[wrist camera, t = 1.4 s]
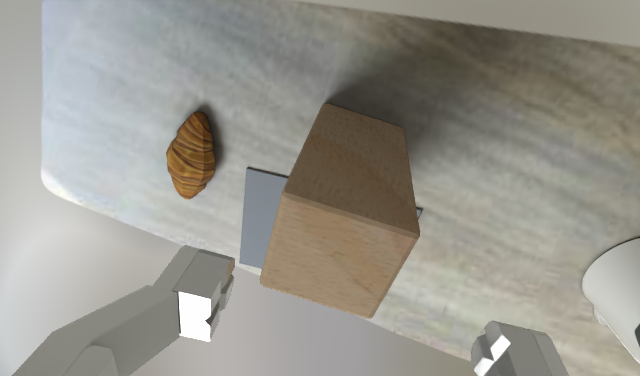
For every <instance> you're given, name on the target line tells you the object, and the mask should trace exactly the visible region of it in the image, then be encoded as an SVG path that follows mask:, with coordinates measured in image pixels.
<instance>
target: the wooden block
mask: <svg viewBox="0 0 640 376" xmlns="http://www.w3.org/2000/svg"><path fill="white" fill-rule="evenodd" d="M419 237H420V229H419V223H418V216H417V210H416V204H415V197H414V191H413V185H412V179H411V172H410V166H409V160H408V153H407V147H406V141H405V135H404V129H403V128H402V127H399V126H396V125H393V124H390V123H387V122H384V121H381V120H378V119H375V118H371V117H368V116H365V115H362V114H359V113H356V112H353V111H350V110H347V109H343V108H340V107H337V106H334V105H331V104H328V103H324V104H323V105H322V107H321V109H320V111H319V113H318V115H317V118H316V120H315V122H314V124H313V126H312V128H311V130H310V133H309V135H308V137H307V139H306V141H305V143H304V146H303V148H302V150H301V152H300V154H299V156H298V158H297V161H296V163H295V165H294V167H293V169H292V171H291V173H290V176H289V178H288V180H287V182H286V184H285V186H284V189H283V191H282V193H281V197H280V201H279V205H278V209H277V213H276V217H275V221H274V225H273V229H272V233H271V236H270V240H269V244H268V248H267V252H266V256H265V260H264V264H263V268H262V272H261V276H260V283H261V285H263V286H264V287H268V288H271V289H274V290H277V291H281V292H284V293H287V294H291V295H293V296H297V297H300V298H303V299H306V300H309V301H313V302H316V303H319V304H322V305H326V306H329V307H332V308H335V309H338V310H342V311H345V312H348V313H351V314H354V315H358V316H361V317H364V318H372V317H373V316H374V314H375V312H376V310H377V309H378V307H379V305H380V304H381V302H382V300H383V298H384V297H385V295H386V293H387V292H388V290H389V288H390V286H391V285H392V283H393V281H394V280H395V278H396V276H397V274H398V273H399V271H400V269H401V268H402V266H403V264H404V262H405V261H406V259H407V257H408V255H409V254H410V252H411V250H412V249H413V247H414V245H415V243H416V242H417V240H418V238H419Z"/></svg>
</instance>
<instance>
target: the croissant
mask: <svg viewBox="0 0 640 376" xmlns="http://www.w3.org/2000/svg"><path fill="white" fill-rule="evenodd" d="M166 156H167V166H168V172H169V173H170V175H171V177H172V181H173V183H174V186H175V188H176V190H177V192H178V193H179V194H180V195H181V196H182V197H183V198H185V199H191V198H193V197H194V196H196V195H197V194H198V193H199V192H201V191H202V190H203V189H204V188H205V187H206V183H207V182H208V181H210V180H211V178H212V177H213V175H214V173H215V157H214V153H213V139H212V134H211V129H210V124H209V121H208V117H207V115H206V114H204V113H203V112H194V113H193V114H192V115H191V116H190V117H189V118H188V119H186V121H185V122H184V123H183V124H182V125H181V127H180V128H179V129H178V130H177V137H176V138H175V139H174V140H173V141H172V142H171V144H170V146H169V148H168V150H167V152H166Z"/></svg>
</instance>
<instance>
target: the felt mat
mask: <svg viewBox="0 0 640 376" xmlns="http://www.w3.org/2000/svg"><path fill="white" fill-rule="evenodd" d="M287 180H288V177H283V176H279V175H275V174H271V173H267V172H263V171H258V170H254V169H250V168H247V169H246V182H245V196H244V209H243V222H242V236H241V249H240V262H239V263H241V264H245V265H249V266H253V267H257V268H261V269H262V268H263V264H264V260H265V256H266V252H267V248H268V244H269V240H270V236H271V233H272V229H273V225H274V221H275V217H276V213H277V209H278V205H279V201H280V197H281V193H282V191H283V189H284V186H285V184H286V182H287ZM416 210H417V216H418V217H419V215H420V213H421V209H417V208H416Z"/></svg>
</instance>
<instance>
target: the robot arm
mask: <svg viewBox="0 0 640 376" xmlns="http://www.w3.org/2000/svg"><path fill="white" fill-rule="evenodd" d="M234 267H235V259H234V258H232V257H229V256H225V255H221V254H218V253H214V252H210V251H207V250H203V249H198V248H195V247H191V246H187V245H185V246H183V247H182V248H180V250H179V251H178V252H177V254H176V255H175V257H174V258H173V259H172V261H171V262H170V263H169V265H168V266H167V267H166V269H165V270H164V272H163V273H162V274H161V275H160V277H159V278H158V280H157V281H156V282H155V284H154V285H153V286H149V285H147V286H145V287H143V288H141V289H139V290H137V291H135V292H133V293H131V294H128V295H126V296H124V297H122V298H120V299H118V300H116V301H114V302H112V303H110V304H108V305H107V306H104V307H103V308H100V309H98V310H96V311H94V312H92V313H90V314H88V315H86V316H84V317H82V318H80V319H78V320H76V321H74V322H72V323H70V324H68V325H66V326H64V327H62V328H60V329H58V330H56V331H54V332H52V333H51V334H50V335H49V336H48V337H47V339H46V340H45V341H44V342H43V343H42V344H41V345H40V346H39V347H38V348H37V349H36V350H35V351H34V352H33V354H32V355H31V356H30V357H29V358H28V359H27V360H26V361H25V362H24V363H23V364H22V365H21V367H20V368H19V369H18V370H17V371H16V372H15V373H14V374H13V375H12V376H129V375H131V374H132V373H133V372H134V371H136V370H137V369H138V368H140V367H141V366H142V365H144V364H145V363H146V362H147V361H149V360H150V359H151V358H153V357H154V356H155V355H157V354H158V353H159V352H160V351H162V350H163V349H164V348H166V347H167V346H169V345H170V344H171V343H172V342H174V341H175V340H176V339H178V338H179V337H180V335H183V336H187V337H192V338H197V339H201V340H206V341H210V339H211V337H212V335H213V333H214V331H215V328H216V326H217V324H218V322H219V312H220V311H221V310H223V309H224V308H225V307H226V305H227V303H228V300H229V297H230V294H231V291H232V287H233V281H234V277H233V275H232V274H231V273H232V271H233V269H234ZM583 291H584V294H585V296H586V297H587V299H588V300H589V301H590V302H591V303H592V304H593V306H594V315H595V318H596V319H597V320H598V321H599V323H600V324H602V325H606V326H609V327H610V328H611V330H612V331H613V332H614V333H615V335H616V336H617V337H618V338H619V340H620V341H621V342H622V343H623V345H624V346H625V347H626V348H627V350H628V351H629V352H630V353H631V354H632V356H633V357H634V358H635V359H636V360H637V361H638V362H639V363H640V238H638V239H635V240H631V241H628V242H626V243H623V244H621V245H619V246H616V247H614V248H613V249H611V250H609V251H607V252H606V253H604V254H603V255H602V256H600V257H599V258H598V259H597V260H596V261H595V262H594V263H593V264H592V265H591V266H590V267H589V269H588V270H587V272H586V273H585V276H584V278H583ZM485 332H486V334H484V335H481V336H479V337H477V339H476V340H475V342H474V343H473V346H472V351H471V361H472V365H473V369H474V371H475V372H476V373H477V374H478V376H569V374H568V372H567V370H566V368H565V366H564V364H563V362H562V360H561V358H560V356H559V354H558V352H557V350H556V348H555V346H554V344H553V342H552V340H551V338H550V337H549V336H548V335H547V334H546V333H543V332H539V331H534V330H530V329H526V328H522V327H518V326H514V325H509V324H505V323H501V322H496V321H491V322H489V323H488V324H487V325H486V326H485Z"/></svg>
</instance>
